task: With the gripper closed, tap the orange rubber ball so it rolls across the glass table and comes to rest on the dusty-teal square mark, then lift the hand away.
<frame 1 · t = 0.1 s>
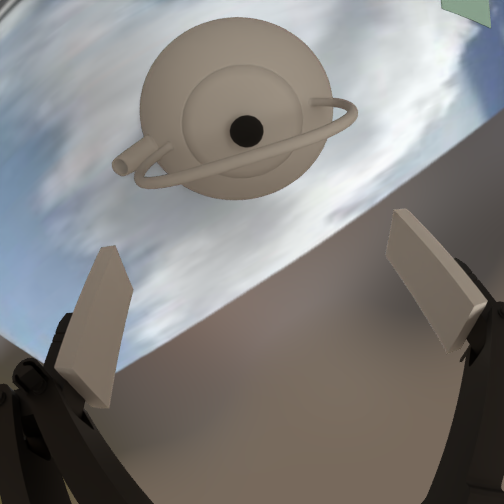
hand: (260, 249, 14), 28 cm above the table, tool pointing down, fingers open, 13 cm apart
kettle: (226, 106, 35), on the table
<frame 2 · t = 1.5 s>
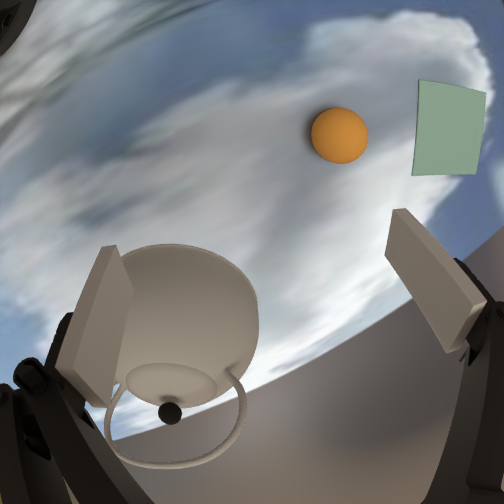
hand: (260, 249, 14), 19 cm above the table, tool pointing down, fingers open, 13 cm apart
ball: (339, 135, 27), on the table
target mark: (452, 130, 29), on the table
kettle: (169, 311, 42), on the table
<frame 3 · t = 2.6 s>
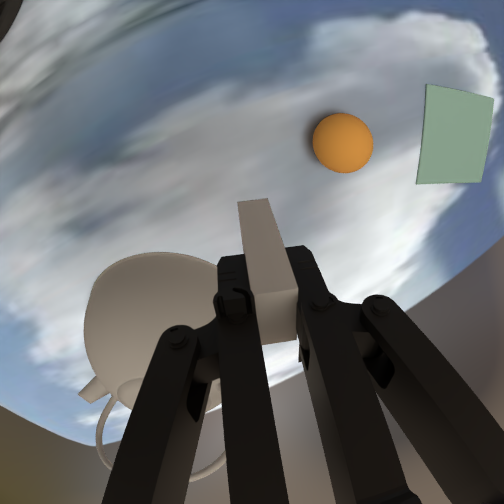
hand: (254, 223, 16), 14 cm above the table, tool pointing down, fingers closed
ball: (343, 143, 25), on the table
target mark: (458, 138, 28), on the table
kettle: (162, 319, 40), on the table
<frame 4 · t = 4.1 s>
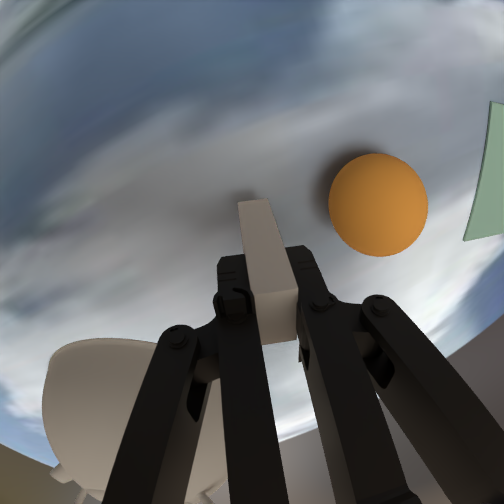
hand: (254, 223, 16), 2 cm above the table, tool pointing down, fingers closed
ball: (378, 204, 15), on the table
kettle: (135, 397, 30), on the table
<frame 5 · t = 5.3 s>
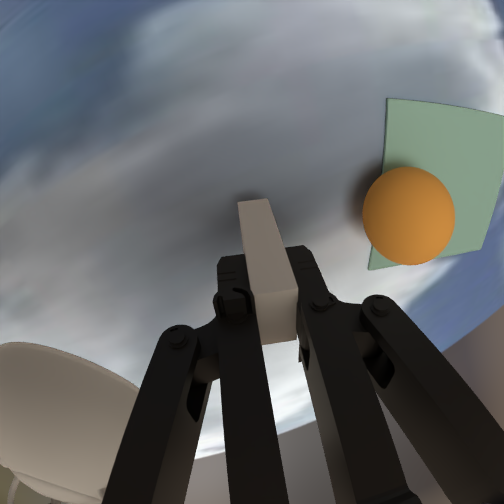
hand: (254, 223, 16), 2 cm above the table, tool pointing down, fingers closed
ball: (409, 215, 15), on the table
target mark: (449, 189, 18), on the table
kettle: (65, 397, 29), on the table
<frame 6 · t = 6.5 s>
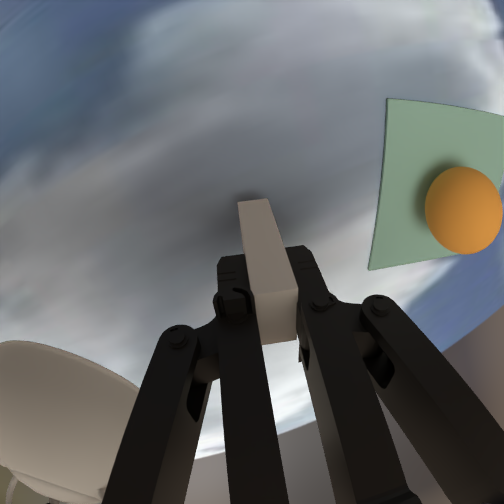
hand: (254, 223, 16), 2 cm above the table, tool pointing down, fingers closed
ball: (464, 210, 16), on the table
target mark: (449, 189, 18), on the table
kettle: (64, 396, 29), on the table
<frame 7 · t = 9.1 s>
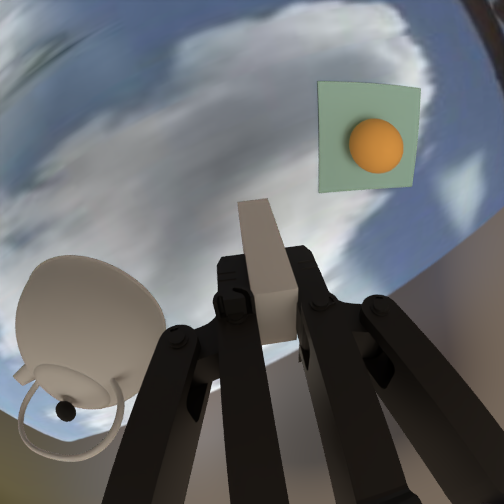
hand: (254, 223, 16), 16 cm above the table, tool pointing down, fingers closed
ball: (376, 145, 27), on the table
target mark: (371, 137, 29), on the table
kettle: (87, 317, 40), on the table
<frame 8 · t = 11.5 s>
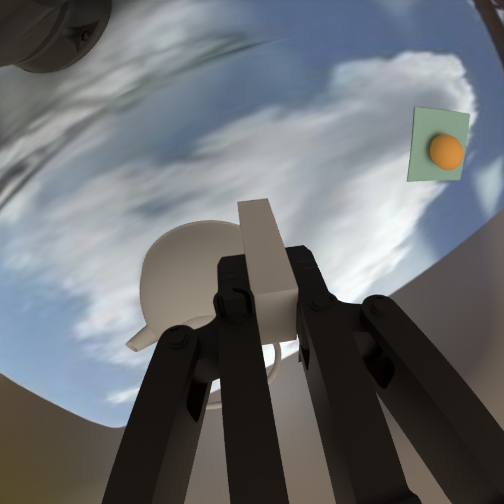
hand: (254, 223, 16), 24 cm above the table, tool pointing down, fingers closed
ball: (446, 152, 37), on the table
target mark: (440, 146, 39), on the table
kettle: (204, 281, 50), on the table
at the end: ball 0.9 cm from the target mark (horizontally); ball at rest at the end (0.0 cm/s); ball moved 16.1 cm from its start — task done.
